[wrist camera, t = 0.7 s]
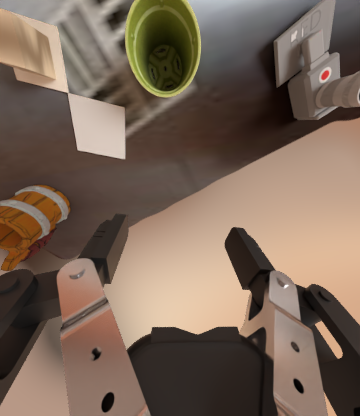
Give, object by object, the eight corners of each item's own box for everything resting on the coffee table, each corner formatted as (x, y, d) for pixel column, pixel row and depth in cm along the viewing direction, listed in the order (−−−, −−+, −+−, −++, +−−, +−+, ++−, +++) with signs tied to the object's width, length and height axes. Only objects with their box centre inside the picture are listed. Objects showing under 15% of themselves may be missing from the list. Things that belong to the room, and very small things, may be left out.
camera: (339, 131, 20) (333, -7, 14) (284, 128, 30) (265, 48, 24) (413, 87, 18) (450, -107, 11) (327, 100, 28) (319, 1, 21)
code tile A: (-5, 7, 20) (-7, 5, 19) (57, 27, 21) (56, 26, 21) (18, 80, 24) (16, 79, 23) (69, 93, 25) (67, 92, 25)
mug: (69, 187, 35) (12, 225, 22) (75, 233, 43) (36, 279, 31) (19, 177, 33) (-75, 212, 20) (36, 227, 41) (-23, 274, 29)
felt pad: (69, 93, 25) (67, 92, 25) (125, 107, 27) (124, 107, 26) (78, 149, 30) (77, 150, 30) (125, 158, 32) (124, 159, 32)
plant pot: (196, 93, 26) (207, 83, 19) (151, 110, 27) (144, 106, 20) (183, 19, 21) (190, -34, 14) (129, 43, 22) (108, 6, 15)
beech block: (10, 25, 20) (-43, -6, 15) (48, 37, 21) (9, 11, 16) (23, 70, 23) (-18, 56, 18) (56, 79, 24) (26, 68, 19)
